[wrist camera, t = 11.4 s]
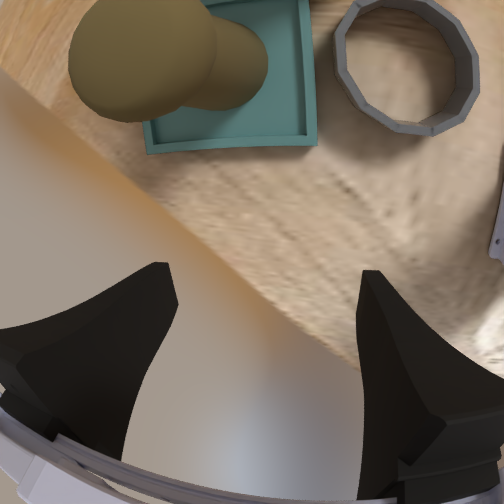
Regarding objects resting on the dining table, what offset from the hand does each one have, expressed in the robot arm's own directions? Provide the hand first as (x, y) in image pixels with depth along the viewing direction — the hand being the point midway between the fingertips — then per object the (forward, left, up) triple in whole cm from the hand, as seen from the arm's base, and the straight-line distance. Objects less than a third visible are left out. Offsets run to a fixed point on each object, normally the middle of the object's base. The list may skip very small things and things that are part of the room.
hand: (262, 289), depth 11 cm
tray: (+8, +4, -10) cm, 14 cm away
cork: (+9, +4, -10) cm, 14 cm away
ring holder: (+9, -7, -10) cm, 16 cm away
